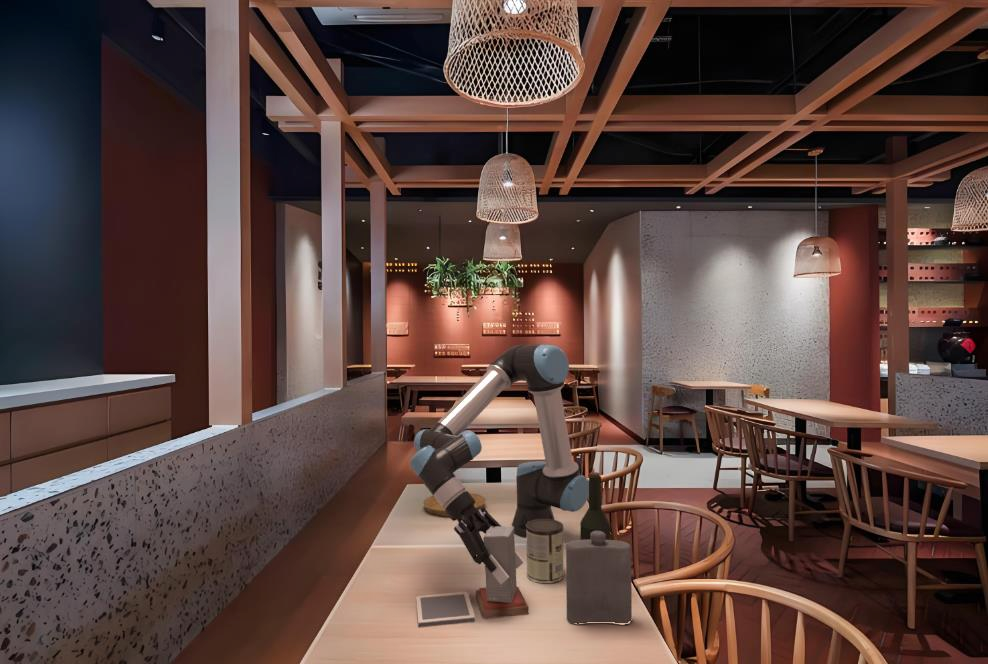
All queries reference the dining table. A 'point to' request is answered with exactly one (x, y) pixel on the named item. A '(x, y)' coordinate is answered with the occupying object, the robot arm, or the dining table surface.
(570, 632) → the dining table surface
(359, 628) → the dining table surface
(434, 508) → the plant saucer
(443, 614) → the marked board
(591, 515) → the wine bottle
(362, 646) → the dining table surface
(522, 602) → the ink pad
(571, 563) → the flask
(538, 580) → the coffee can
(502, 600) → the skincare box
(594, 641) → the dining table surface
